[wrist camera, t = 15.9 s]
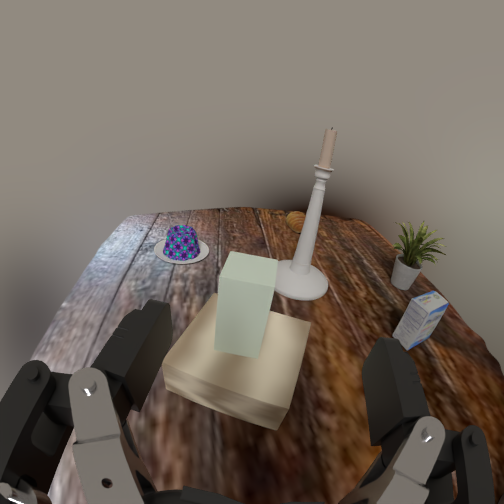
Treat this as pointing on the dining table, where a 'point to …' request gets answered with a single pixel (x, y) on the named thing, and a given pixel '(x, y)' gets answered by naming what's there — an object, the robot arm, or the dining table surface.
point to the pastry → (295, 221)
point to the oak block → (238, 368)
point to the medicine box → (420, 319)
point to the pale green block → (244, 303)
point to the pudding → (181, 246)
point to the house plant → (411, 257)
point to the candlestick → (308, 239)
